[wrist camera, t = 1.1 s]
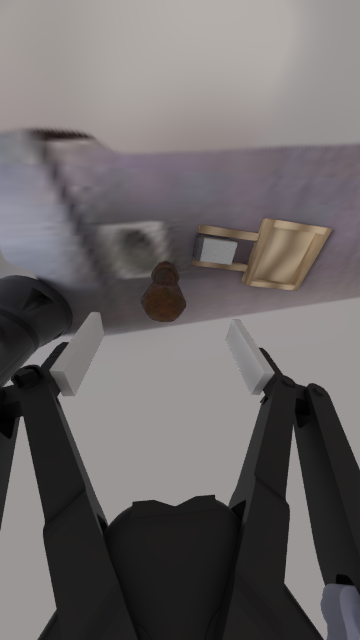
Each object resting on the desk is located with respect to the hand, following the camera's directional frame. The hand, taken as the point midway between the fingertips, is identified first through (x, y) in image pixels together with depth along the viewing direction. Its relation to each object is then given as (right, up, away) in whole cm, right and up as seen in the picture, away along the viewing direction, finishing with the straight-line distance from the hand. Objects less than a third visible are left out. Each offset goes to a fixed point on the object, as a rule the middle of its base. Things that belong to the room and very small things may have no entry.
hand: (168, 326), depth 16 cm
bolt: (-2, +11, +16) cm, 20 cm away
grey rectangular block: (+7, +14, +14) cm, 21 cm away
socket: (+15, +14, +15) cm, 26 cm away
